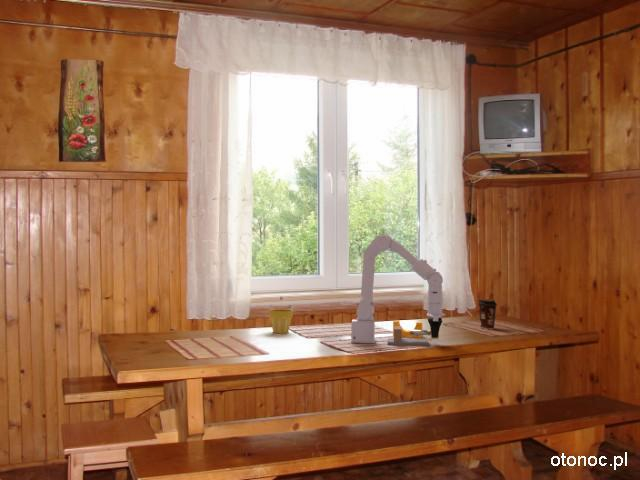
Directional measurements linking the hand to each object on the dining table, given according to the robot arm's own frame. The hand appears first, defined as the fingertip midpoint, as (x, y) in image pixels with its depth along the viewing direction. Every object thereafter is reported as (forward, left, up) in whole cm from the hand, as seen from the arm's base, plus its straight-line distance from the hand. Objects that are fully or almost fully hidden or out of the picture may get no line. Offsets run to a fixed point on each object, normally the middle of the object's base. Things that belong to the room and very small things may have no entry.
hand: (434, 336), depth 270 cm
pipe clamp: (-10, +18, -3) cm, 21 cm away
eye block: (-10, 0, -3) cm, 10 cm away
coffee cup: (+25, +46, -3) cm, 53 cm away
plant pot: (-66, +20, -3) cm, 69 cm away
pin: (-4, 0, -1) cm, 4 cm away
